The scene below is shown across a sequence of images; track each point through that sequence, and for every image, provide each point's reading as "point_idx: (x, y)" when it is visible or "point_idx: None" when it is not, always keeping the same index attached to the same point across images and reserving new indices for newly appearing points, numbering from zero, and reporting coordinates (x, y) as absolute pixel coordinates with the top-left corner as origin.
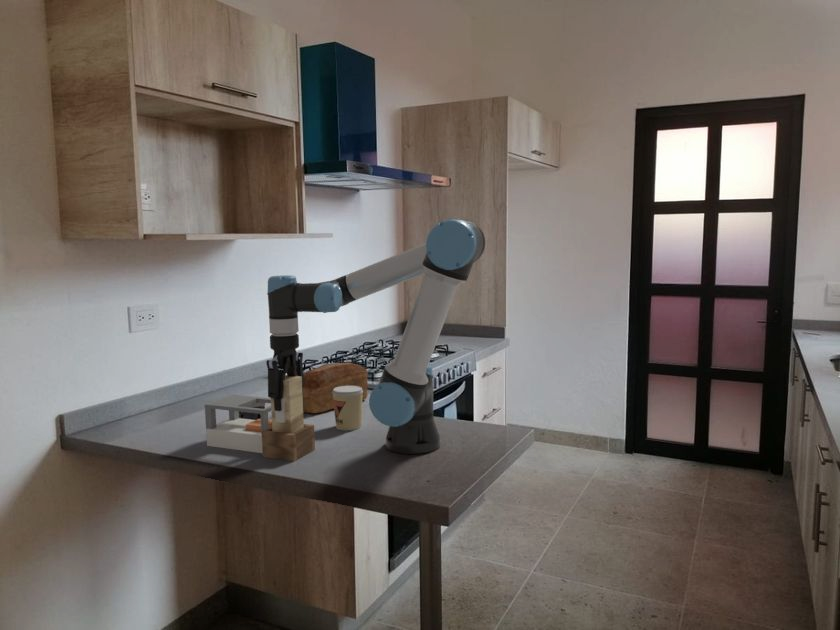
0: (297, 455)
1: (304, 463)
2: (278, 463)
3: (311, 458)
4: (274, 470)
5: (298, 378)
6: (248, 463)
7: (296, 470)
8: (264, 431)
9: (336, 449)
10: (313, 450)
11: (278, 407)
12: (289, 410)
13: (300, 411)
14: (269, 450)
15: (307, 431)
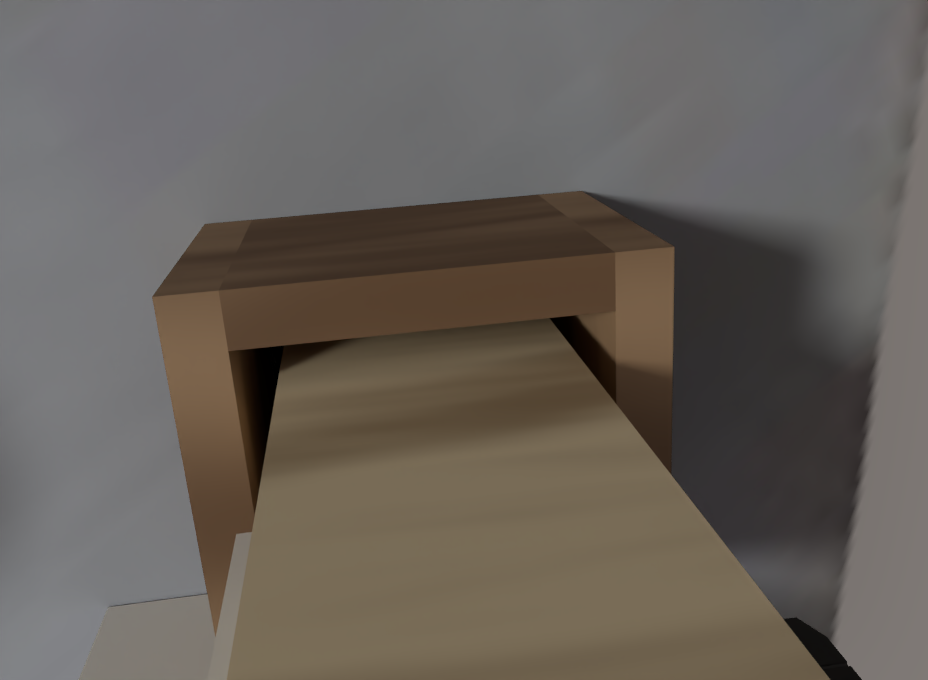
0: (535, 203)
1: (591, 62)
2: (674, 290)
3: (441, 89)
4: (835, 203)
5: None
6: (754, 507)
7: (780, 10)
8: None
9: (65, 7)
10: (234, 222)
11: (844, 666)
12: (687, 509)
13: (344, 486)
14: None
15: (333, 269)
